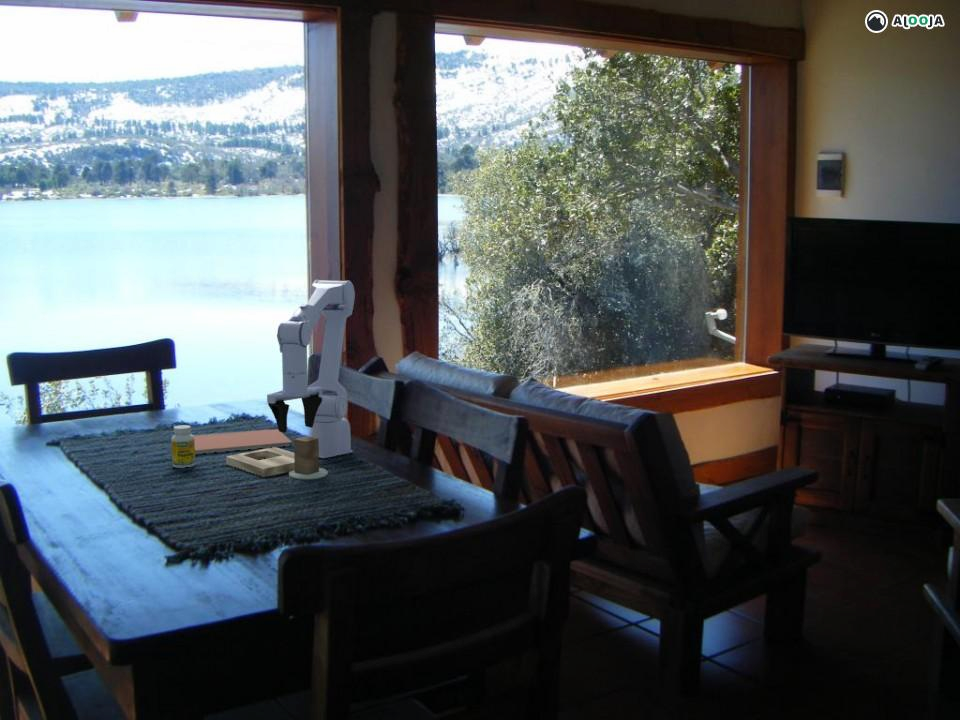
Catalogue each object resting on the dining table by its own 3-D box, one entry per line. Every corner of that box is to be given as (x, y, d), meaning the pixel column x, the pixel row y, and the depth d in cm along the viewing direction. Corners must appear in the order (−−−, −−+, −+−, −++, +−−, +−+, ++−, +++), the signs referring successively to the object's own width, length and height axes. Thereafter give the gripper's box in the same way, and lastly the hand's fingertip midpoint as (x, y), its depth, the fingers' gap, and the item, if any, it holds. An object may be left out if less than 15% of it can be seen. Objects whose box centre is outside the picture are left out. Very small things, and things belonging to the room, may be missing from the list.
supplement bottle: (191, 461, 256) (190, 423, 255) (198, 466, 252) (197, 427, 250) (169, 464, 253) (167, 425, 252) (176, 469, 249) (174, 430, 247)
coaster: (312, 467, 252) (312, 465, 252) (335, 474, 246) (335, 472, 246) (281, 474, 246) (281, 472, 246) (304, 481, 239) (304, 479, 239)
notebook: (277, 434, 288) (277, 427, 288) (292, 448, 273) (291, 440, 273) (175, 443, 277) (175, 435, 277) (184, 457, 262) (184, 450, 262)
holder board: (275, 454, 264) (274, 447, 263) (313, 466, 253) (312, 458, 252) (226, 464, 254) (226, 456, 254) (263, 477, 243) (263, 468, 242)
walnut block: (306, 468, 249) (306, 436, 247) (319, 471, 246) (318, 438, 245) (294, 472, 245) (294, 439, 244) (307, 475, 243) (306, 441, 242)
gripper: (309, 366, 252) (310, 421, 254) (258, 373, 241) (260, 431, 243) (327, 370, 247) (328, 426, 249) (276, 377, 237) (278, 436, 239)
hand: (296, 429), depth 246 cm, fingers open, 7 cm apart
